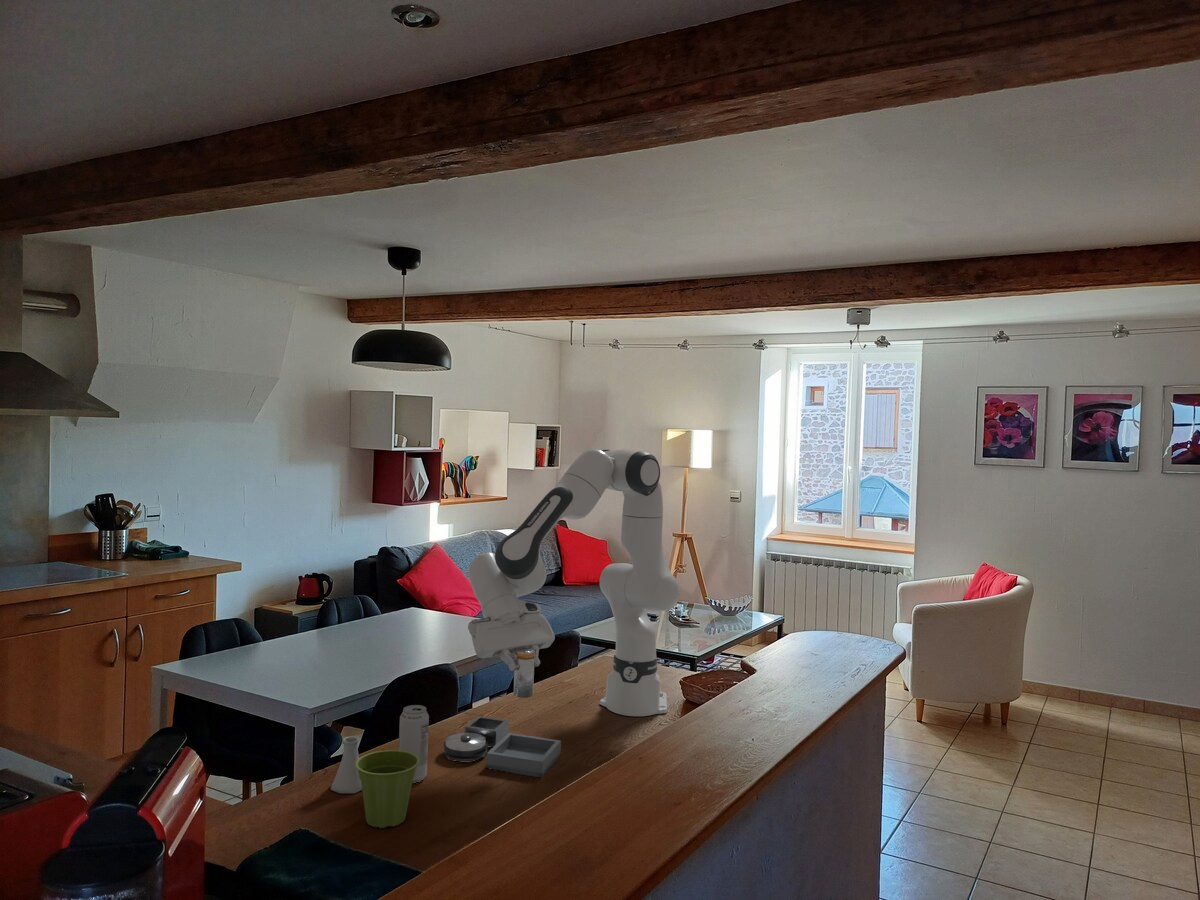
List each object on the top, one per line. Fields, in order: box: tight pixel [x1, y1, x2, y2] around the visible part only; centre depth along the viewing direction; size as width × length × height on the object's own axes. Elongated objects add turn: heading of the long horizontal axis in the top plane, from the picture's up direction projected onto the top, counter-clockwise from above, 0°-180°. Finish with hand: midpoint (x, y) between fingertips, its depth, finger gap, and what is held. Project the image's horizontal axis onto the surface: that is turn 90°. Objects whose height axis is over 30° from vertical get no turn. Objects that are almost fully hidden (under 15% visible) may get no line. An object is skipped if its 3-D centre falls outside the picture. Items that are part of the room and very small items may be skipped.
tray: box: [485, 732, 562, 778], centre depth 186 cm, size 13×13×4 cm
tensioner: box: [442, 715, 510, 761], centre depth 193 cm, size 19×10×4 cm, turn 165°
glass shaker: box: [513, 648, 535, 699], centre depth 187 cm, size 4×4×10 cm
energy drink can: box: [398, 704, 430, 784], centre depth 175 cm, size 6×6×15 cm
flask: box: [330, 736, 362, 794], centre depth 170 cm, size 7×7×10 cm
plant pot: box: [355, 749, 420, 829], centre depth 156 cm, size 12×12×11 cm
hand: (526, 667), depth 186 cm, fingers closed on glass shaker, 4 cm apart
